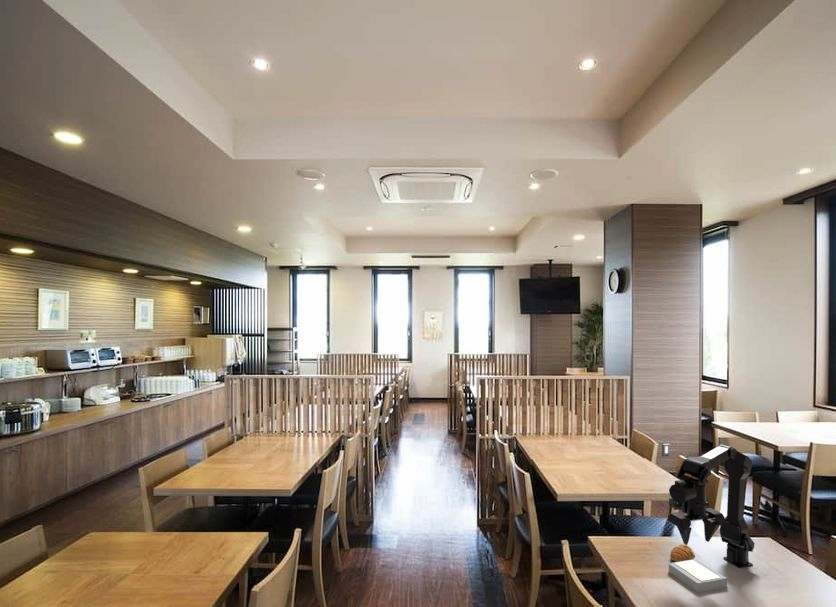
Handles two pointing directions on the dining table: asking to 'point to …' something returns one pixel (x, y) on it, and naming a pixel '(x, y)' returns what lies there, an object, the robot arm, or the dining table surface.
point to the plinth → (697, 575)
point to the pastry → (682, 553)
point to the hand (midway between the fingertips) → (696, 542)
